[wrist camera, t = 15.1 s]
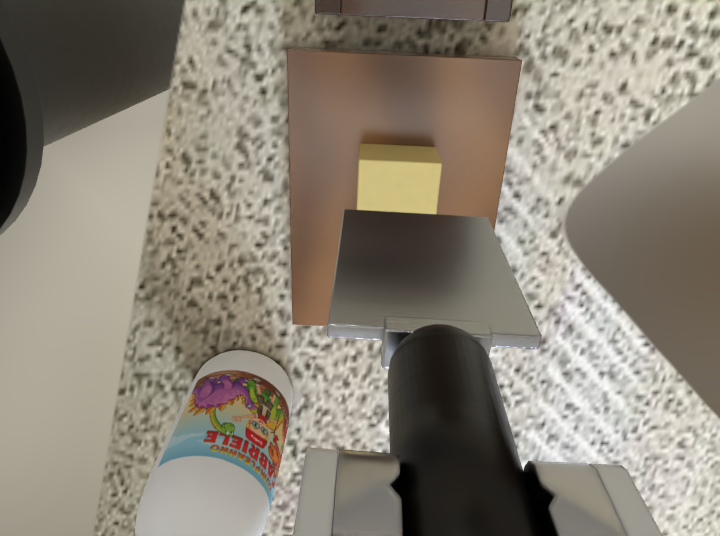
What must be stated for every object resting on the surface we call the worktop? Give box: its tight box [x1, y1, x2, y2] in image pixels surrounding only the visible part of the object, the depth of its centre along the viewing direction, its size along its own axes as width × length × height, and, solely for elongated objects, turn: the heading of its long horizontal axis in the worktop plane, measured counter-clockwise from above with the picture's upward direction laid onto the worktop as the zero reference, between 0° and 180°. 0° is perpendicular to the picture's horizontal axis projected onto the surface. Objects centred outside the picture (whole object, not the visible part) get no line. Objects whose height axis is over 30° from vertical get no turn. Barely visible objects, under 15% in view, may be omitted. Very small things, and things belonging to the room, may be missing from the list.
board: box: [287, 47, 522, 326], centre depth 35 cm, size 13×18×2 cm
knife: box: [327, 209, 542, 536], centre depth 12 cm, size 5×2×16 cm, turn 87°
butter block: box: [357, 144, 442, 214], centre depth 32 cm, size 4×6×4 cm
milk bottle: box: [135, 350, 293, 536], centre depth 34 cm, size 8×8×20 cm
